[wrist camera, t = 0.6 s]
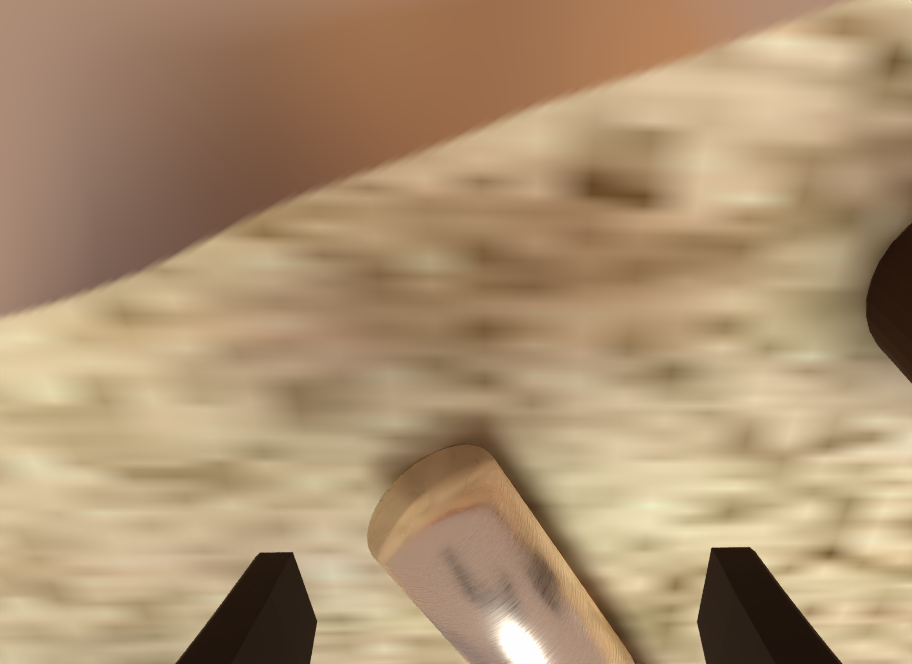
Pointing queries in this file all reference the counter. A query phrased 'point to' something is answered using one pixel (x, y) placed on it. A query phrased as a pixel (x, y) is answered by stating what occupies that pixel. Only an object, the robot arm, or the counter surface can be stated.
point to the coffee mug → (893, 303)
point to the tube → (486, 566)
